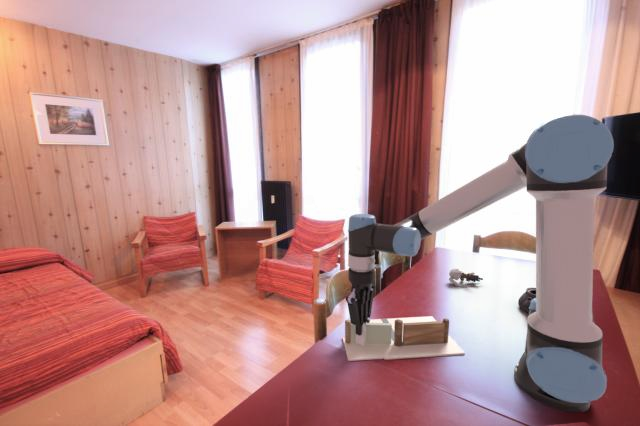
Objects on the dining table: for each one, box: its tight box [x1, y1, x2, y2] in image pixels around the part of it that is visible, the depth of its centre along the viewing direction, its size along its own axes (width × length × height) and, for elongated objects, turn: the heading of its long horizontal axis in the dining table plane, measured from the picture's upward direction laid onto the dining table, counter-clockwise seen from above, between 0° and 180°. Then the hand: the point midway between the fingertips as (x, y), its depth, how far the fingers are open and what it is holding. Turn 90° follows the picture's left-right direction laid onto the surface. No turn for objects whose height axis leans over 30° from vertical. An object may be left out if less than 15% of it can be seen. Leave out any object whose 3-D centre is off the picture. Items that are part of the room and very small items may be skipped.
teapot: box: [517, 287, 536, 313], centre depth 106 cm, size 19×15×10 cm
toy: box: [448, 268, 484, 288], centre depth 134 cm, size 11×8×15 cm
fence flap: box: [344, 319, 392, 344], centre depth 91 cm, size 14×2×7 cm, turn 86°
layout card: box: [341, 315, 466, 362], centre depth 95 cm, size 21×34×1 cm, turn 95°
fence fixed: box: [394, 318, 450, 347], centre depth 91 cm, size 2×17×8 cm, turn 95°
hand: (360, 342), depth 88 cm, fingers closed
